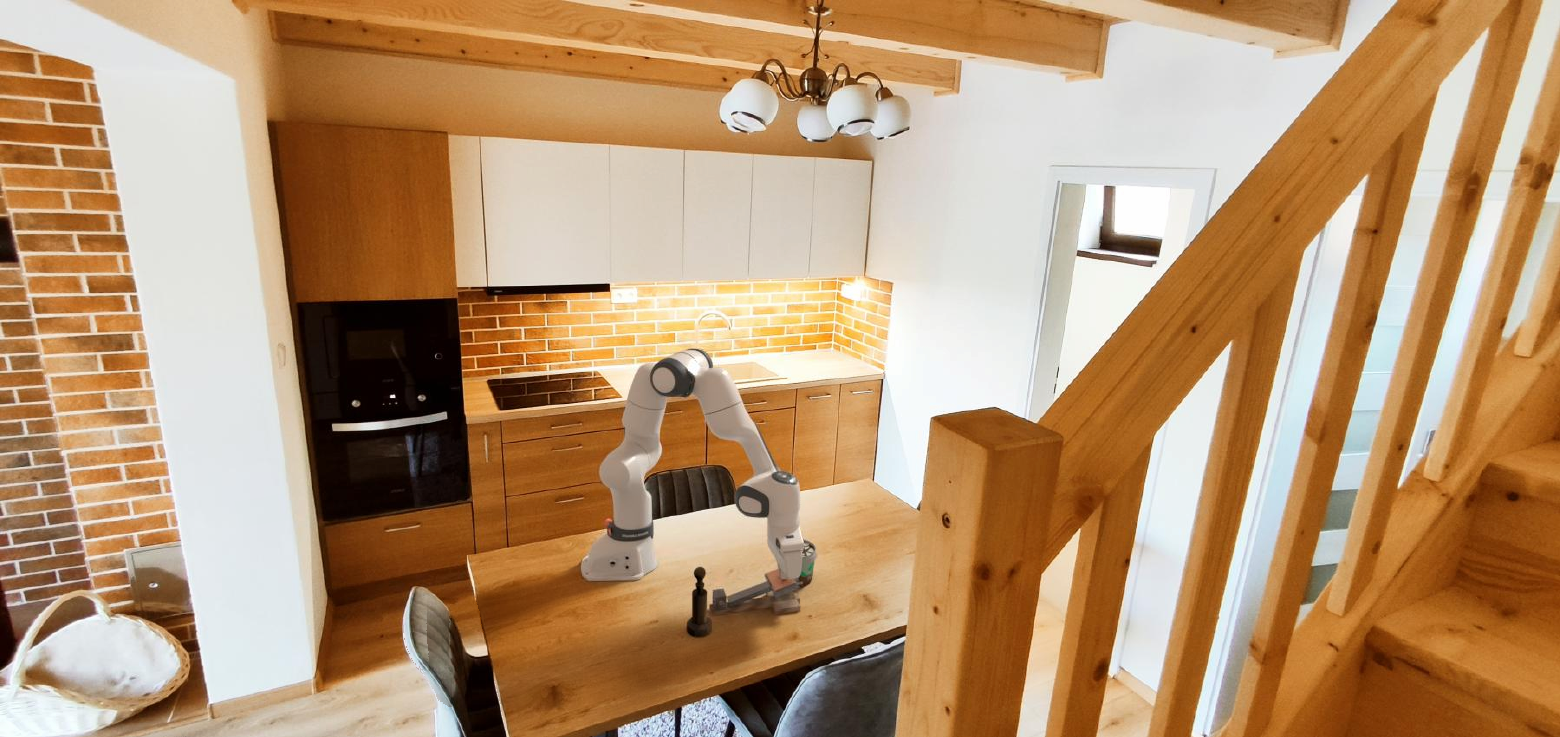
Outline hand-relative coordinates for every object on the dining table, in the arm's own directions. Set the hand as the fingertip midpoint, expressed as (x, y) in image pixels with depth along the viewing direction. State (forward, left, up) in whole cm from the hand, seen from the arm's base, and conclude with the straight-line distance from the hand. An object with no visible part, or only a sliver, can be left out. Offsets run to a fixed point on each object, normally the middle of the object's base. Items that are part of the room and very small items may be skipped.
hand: (782, 576), depth 202 cm
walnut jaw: (-8, 0, -8) cm, 11 cm away
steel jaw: (-5, 0, -4) cm, 6 cm away
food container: (+10, +10, -9) cm, 17 cm away
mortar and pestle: (-24, -7, -9) cm, 27 cm away
